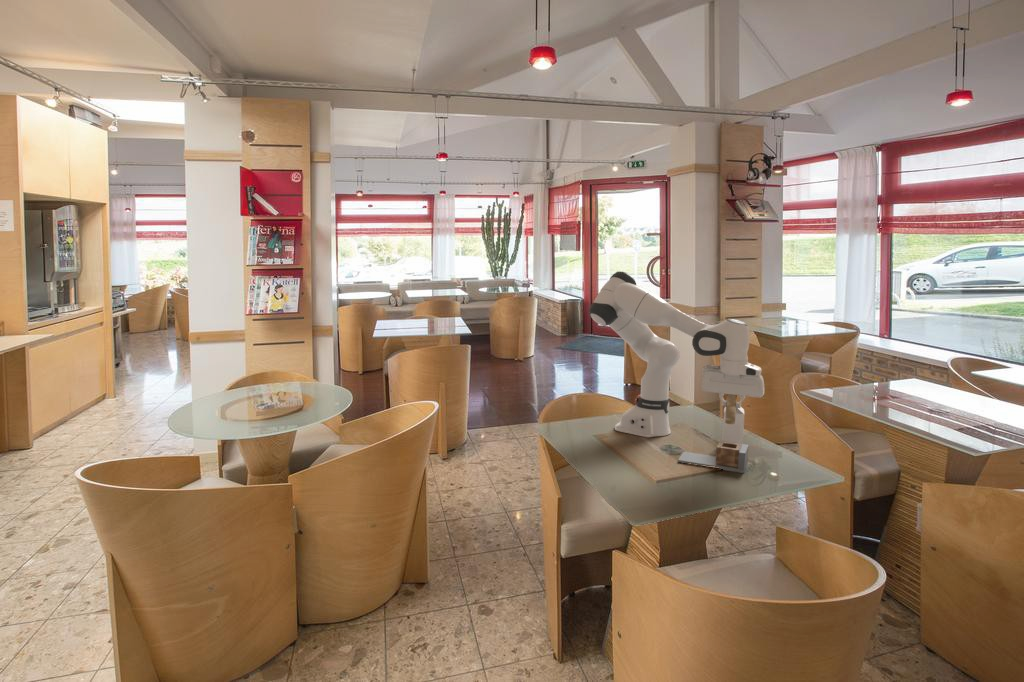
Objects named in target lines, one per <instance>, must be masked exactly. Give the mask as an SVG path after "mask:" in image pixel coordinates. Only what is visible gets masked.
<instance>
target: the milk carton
mask: <svg viewBox="0 0 1024 682" xmlns="http://www.w3.org/2000/svg"><path fill="white" fill-rule="evenodd" d="M725 417H726V407H725V406H724V408H723V422H722V434H721V435H722V437H721V441H723V442H730V443H737V444H744V442H743V440H744V427H745V409H744V408H743V407H742V406H741V408H736V416H735V424H727V423H725Z"/></svg>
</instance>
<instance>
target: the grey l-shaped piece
mask: <svg viewBox="0 0 1024 682" xmlns="http://www.w3.org/2000/svg"><path fill="white" fill-rule="evenodd" d="M748 460H749V444H746V443H743V444H742V447H741V449H740V451H739V460H738V467H733V466H727V465H720V464H716V455H715V456H714V455H708V454H702V453H696V452H689V451H683V452H682V453H681V455H680V456H679V458H678V459H677V463H678V462H682V463H681V464H683V463H691V464H697V465H706V466H715V467H719V468H722V469H723V471H726V472H727V471H728V472H733V473H740V474H745V471H746V469H747V466H748V462H749V461H748Z"/></svg>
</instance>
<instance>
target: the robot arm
mask: <svg viewBox="0 0 1024 682" xmlns="http://www.w3.org/2000/svg"><path fill="white" fill-rule="evenodd" d="M601 287H602V288H601V289H600V291H598V294H597V295H596V297H595V299H594V300H593V302H592V303H591V304H590V307H589V309H588V314H589V317H590V318H591V319H592V320H593V321H594V322H595V323H596V324H598V325H601V326H603V327H605V326H609V327H610V328H611V329H612V331H614V332H615V333H616V335H618V336H619V337H620V338H621V339H622V340H623V341H624V342H626V343H627V344H628V346H630V348H631V350H633V352H634V353H635V354H636V355H637V356H638V358H640V359H641V360H642V361H643V362H646V363H647V364H646V365H647V366H646V369H645V372H644V375H642V376H641V380H640V394H638V395H636V398H635V399H634V403H635V405H633V406H632V407H630V408H629V409H627V410H626V411H624V412H623V414H622V415H621V418H620V421H619V422H617V423H616V424H615V425H614V430H615V431H617V432H621V433H626V434H629V435H635V436H640V437H643V438H653V437H664V436H669V435H670V434H671V433H672V430H671V427H670V422H669V412H670V398H669V391H670V390H669V388H670V379H671V375H672V372H673V369H674V366H676V365H677V364H678V363H679V361H680V357H681V354H680V353H681V352H680V350H679V348H678V346H677V345H675V344H674V343H673V342H672V341H670V340H668V339H665V338H662V337H659V336H658V335H657V334H655V333H654V332H653V331H652V329H651V328H650V326H651V327H661V326H662V327H669V328H670V327H671V328H673V329H676V330H678V331H680V332H682V333H684V334H686V335H688V336H690V337H692V348H693V350H694V351H695V353H697V354H698V355H700V356H702V357H713V356H720V361H719V365H709V364H707V365H705V366H703V367H702V368H701V376H702V380H701V387H700V388H701V390H702V392H703V393H704V392H707V393H715V394H718V397H719V399H720V401H721V407H724V408H725V407H726V401H727V400H725V398H724V396H725V395H727V394H732V395H737V396H739V399H740V400H739V401H736V408H741V407H742V403H743V401H744V400H745V398H746V397H750V398H761V399H762V398H763V396H764V395H765V381H764V380H765V379H764V377H763V375H762V370H763V369H762V367H760V366H758V365H756V364H752V363H750V362H749V357H748V351H749V348H750V328H749V326H748V324H747V323H746V322H744V321H742V320H739V319H735V318H727V319H725V320H723V321H721V322H719V323H707V322H703V321H701V320H698V319H697V318H695V317H693V316H691V315H689V314H687V313H685V312H683V311H682V310H679V309H678V308H677V307H674V306H673V305H672V304H670V303H669V302H668V301H666V300H664V299H663V298H661V297H660V296H659V295H657V294H656V293H654V292H652V291H650V290H648V289H646V288H643V286H642V287H641V286H639V285H637V281H636V280H635V278H634V277H633V276H632V275H631V274H630V273H628V272H625V271H620V270H619V271H616V272H614V273H613V274H612V275H611V276H610V278H609V279H608V280H607V281H606V283H604V285H603V286H601Z"/></svg>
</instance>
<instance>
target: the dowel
mask: <svg viewBox="0 0 1024 682" xmlns="http://www.w3.org/2000/svg"><path fill="white" fill-rule="evenodd" d="M737 398H738V395H732V394H726V400H725V401H726V417H725V423H727V424H735V416H736V402H738V401H737Z"/></svg>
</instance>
